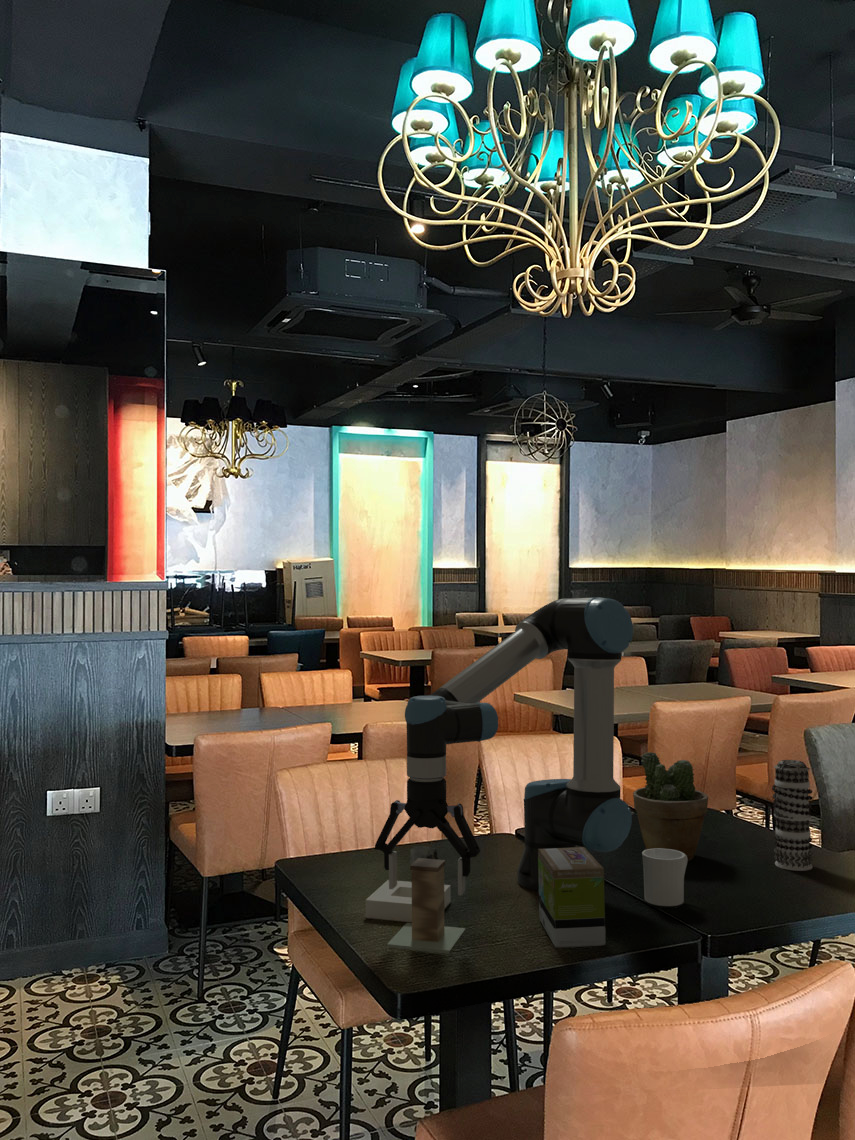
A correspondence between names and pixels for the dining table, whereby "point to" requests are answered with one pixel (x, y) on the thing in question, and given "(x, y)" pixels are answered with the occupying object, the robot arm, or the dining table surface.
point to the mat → (442, 946)
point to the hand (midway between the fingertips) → (427, 890)
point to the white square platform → (395, 902)
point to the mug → (664, 877)
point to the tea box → (571, 897)
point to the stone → (423, 853)
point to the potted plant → (670, 806)
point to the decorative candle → (792, 816)
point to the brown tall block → (427, 899)
